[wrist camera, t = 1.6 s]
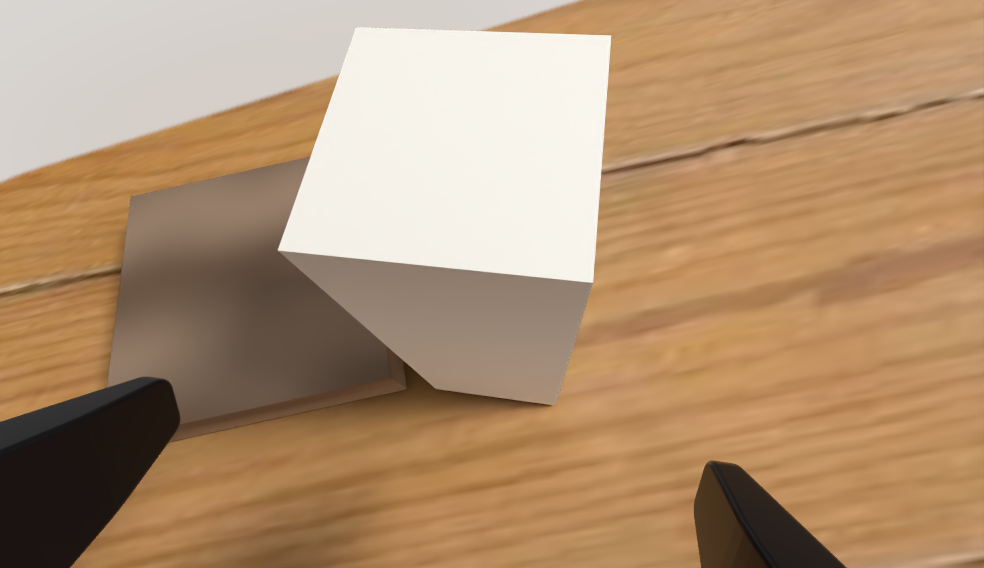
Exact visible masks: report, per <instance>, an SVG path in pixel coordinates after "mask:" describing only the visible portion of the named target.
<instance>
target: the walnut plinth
mask: <svg viewBox="0 0 984 568" xmlns="http://www.w3.org/2000/svg"><path fill="white" fill-rule="evenodd" d="M309 160H310V157H307V158H303V159H298V160H294V161H289V162H285V163H280V164H276V165H271V166H267V167H262V168H258V169H253V170H249V171H244V172H240V173H235V174H231V175H226V176H222V177H217V178H213V179H208V180H204V181H199V182H195V183H190V184H186V185H181V186H177V187H172V188H168V189H163V190H159V191H154V192H150V193H145V194H141V195H136V196H132V197H131V199H130V207H129V215H128V223H127V231H126V239H125V247H124V255H123V263H122V271H121V279H120V287H119V295H118V303H117V311H116V319H115V327H114V335H113V343H112V351H111V359H110V367H109V375H108V383H107V388H108V387H111V386H114V385H117V384H120V383H123V382H126V381H129V380H133V379H136V378H139V377H144V376H148V377H155V378H162V379H166V380H168V381H169V382H170V383H171V385H172V387H173V391H174V394H175V398H176V401H177V405H178V409H179V412H180V417H181V419H180V425H179V427H178V430H177V431H176V433H175V434H174V436H173V437H172V438H171V440H170V441H169V442H172V441H176V440H181V439H185V438H190V437H194V436H199V435H203V434H208V433H212V432H217V431H221V430H226V429H230V428H235V427H239V426H244V425H248V424H253V423H257V422H262V421H266V420H271V419H275V418H280V417H285V416H289V415H294V414H298V413H303V412H307V411H312V410H316V409H321V408H325V407H330V406H334V405H339V404H343V403H348V402H352V401H357V400H361V399H366V398H370V397H375V396H379V395H384V394H388V393H393V392H397V391H402V390H407V386H406V378H405V370H404V362H403V360H402V359H401V358H400V357H399V356H398V355H396V354H395V353H394V352H393V351H392V350H391V349H390V348H388V347H387V346H386V345H385V344H384V343H383V342H382V341H380V340H379V339H378V338H377V337H376V336H375V335H374V334H372V333H371V332H370V331H369V330H368V329H367V328H366V327H365V326H363V325H362V324H361V323H360V322H359V321H358V320H357V319H355V318H354V317H353V316H352V315H351V314H350V313H349V312H347V311H346V310H345V309H344V308H343V307H342V306H341V305H339V304H338V303H337V302H336V301H335V300H334V299H333V298H331V297H330V296H329V295H328V294H327V293H326V292H325V291H323V290H322V289H321V288H320V287H319V286H318V285H317V284H315V283H314V282H313V281H312V280H311V279H310V278H309V277H307V276H306V275H305V274H304V273H303V272H302V271H301V270H299V269H298V268H297V267H296V266H295V265H294V264H293V263H291V262H290V261H289V260H288V259H287V258H286V257H285V256H283V255H282V254H281V253H280V252H279V251H278V248H279V245H280V242H281V239H282V237H283V234H284V231H285V228H286V225H287V222H288V220H289V217H290V214H291V211H292V208H293V206H294V203H295V200H296V197H297V194H298V191H299V189H300V186H301V183H302V180H303V177H304V174H305V172H306V169H307V166H308V163H309Z"/></svg>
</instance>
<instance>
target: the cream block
mask: <svg viewBox="0 0 984 568" xmlns="http://www.w3.org/2000/svg"><path fill="white" fill-rule="evenodd" d="M610 44H611V36H604V35H574V34H543V33H513V32H482V31H452V30H421V29H390V28H389V29H388V28H360V27H359V28H358V27H356V30H355V33H354V36H353V39H352V41H351V44H350V47H349V50H348V53H347V56H346V58H345V61H344V64H343V67H342V70H341V72H340V75H339V78H338V81H337V84H336V87H335V89H334V92H333V95H332V98H331V101H330V104H329V106H328V109H327V112H326V115H325V118H324V121H323V123H322V126H321V129H320V132H319V135H318V138H317V140H316V143H315V146H314V149H313V152H312V155H311V157H310V160H309V163H308V166H307V169H306V172H305V174H304V177H303V180H302V183H301V186H300V189H299V191H298V194H297V197H296V200H295V203H294V206H293V208H292V211H291V214H290V217H289V220H288V222H287V225H286V228H285V231H284V234H283V237H282V239H281V242H280V245H279V248H278V251H279V252H280V253H281V254H282V255H283V256H285V257H286V258H287V259H288V260H289V261H290V262H291V263H293V264H294V265H295V266H296V267H297V268H298V269H299V270H301V271H302V272H303V273H304V274H305V275H306V276H307V277H309V278H310V279H311V280H312V281H313V282H314V283H315V284H317V285H318V286H319V287H320V288H321V289H322V290H323V291H325V292H326V293H327V294H328V295H329V296H330V297H331V298H333V299H334V300H335V301H336V302H337V303H338V304H339V305H341V306H342V307H343V308H344V309H345V310H346V311H347V312H349V313H350V314H351V315H352V316H353V317H354V318H355V319H357V320H358V321H359V322H360V323H361V324H362V325H363V326H365V327H366V328H367V329H368V330H369V331H370V332H371V333H372V334H374V335H375V336H376V337H377V338H378V339H379V340H380V341H382V342H383V343H384V344H385V345H386V346H387V347H388V348H390V349H391V350H392V351H393V352H394V353H395V354H396V355H398V356H399V357H400V358H401V359H402V360H403V361H404V362H406V363H407V364H408V365H409V366H410V367H411V368H412V369H414V370H415V371H416V372H417V373H418V374H419V375H420V376H422V377H423V378H424V379H425V380H426V381H427V382H428V383H430V384H431V385H432V386H433V387H434V388H435V389H440V390H447V391H454V392H461V393H469V394H476V395H483V396H490V397H497V398H505V399H512V400H519V401H526V402H533V403H541V404H548V405H555V406H556V403H557V400H558V396H559V393H560V390H561V386H562V383H563V380H564V377H565V373H566V370H567V367H568V363H569V360H570V357H571V353H572V350H573V347H574V344H575V340H576V337H577V334H578V330H579V327H580V324H581V320H582V317H583V314H584V311H585V307H586V304H587V301H588V297H589V294H590V291H591V287H592V284H593V274H594V261H595V247H596V234H597V220H598V207H599V193H600V180H601V166H602V152H603V139H604V125H605V112H606V98H607V85H608V71H609V58H610Z"/></svg>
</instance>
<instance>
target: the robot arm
mask: <svg viewBox="0 0 984 568" xmlns="http://www.w3.org/2000/svg"><path fill="white" fill-rule="evenodd" d="M180 419H181V417H180V412H179V409H178V405H177V401H176V398H175V394H174V391H173V387H172V385H171V383H170V382H169V381H168V380H166V379H162V378H155V377H148V376H144V377H139V378H136V379H133V380H129V381H126V382H123V383H120V384H117V385H114V386H111V387H108V388H104V389H101V390H98V391H95V392H92V393H89V394H86V395H83V396H79V397H76V398H73V399H70V400H67V401H64V402H61V403H58V404H55V405H51V406H48V407H45V408H42V409H39V410H36V411H33V412H30V413H26V414H23V415H20V416H17V417H14V418H11V419H8V420H5V421H1V422H0V568H70V567H71V566H72V565H73V564H74V562H75V561H76V560H77V559H78V558H79V557H80V555H81V554H82V553H83V552H84V551H85V550H86V548H87V547H88V546H89V545H90V544H91V543H92V541H93V540H94V539H95V538H96V537H97V536H98V534H99V533H100V532H101V531H102V530H103V529H104V527H105V526H106V525H107V524H108V523H109V521H110V520H111V519H112V518H113V517H114V515H115V514H116V513H117V512H118V511H119V509H120V508H121V507H122V505H123V504H124V503H125V501H126V500H127V499H128V497H129V496H130V495H131V493H132V492H133V491H134V489H135V488H136V486H137V485H138V484H139V482H140V481H141V480H142V478H143V477H144V475H145V474H146V473H147V471H148V470H149V469H150V467H151V466H152V464H153V463H154V462H155V460H156V459H157V458H158V456H159V455H160V453H161V452H162V451H163V449H164V448H165V447H166V445H167V444H168V442H169V441H170V440H171V438H172V437H173V436H174V434H175V433H176V431H177V430H178V427H179V425H180ZM694 519H695V526H696V533H697V541H698V548H699V555H700V562H701V568H847V567H845V566H844V565H843V564H842V563H841V562H840V561H839V560H838V559H837V558H836V557H835V556H834V555H833V554H832V553H831V552H830V551H829V550H828V549H827V548H825V547H824V546H823V545H822V544H821V543H820V542H819V541H818V540H817V539H816V538H815V537H814V536H813V535H812V534H811V533H810V532H809V531H808V530H807V529H805V528H804V527H803V526H802V525H801V524H800V523H799V522H798V521H797V520H796V519H795V518H794V517H793V516H792V515H791V514H790V513H789V512H788V511H787V510H785V509H784V508H783V507H782V506H781V505H780V504H779V503H778V502H777V501H776V500H775V499H774V498H773V497H772V496H771V495H770V494H769V493H768V492H767V491H765V490H764V489H763V488H762V487H761V486H760V485H759V484H758V483H757V482H756V481H755V480H754V479H753V478H752V477H751V476H750V475H749V474H748V473H747V472H745V471H744V470H743V469H742V468H741V467H740V466H738V465H736V464H733V463H726V462H720V461H709V462H707V464H706V465H705V467H704V470H703V474H702V477H701V480H700V484H699V487H698V491H697V494H696V497H695V502H694Z"/></svg>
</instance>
